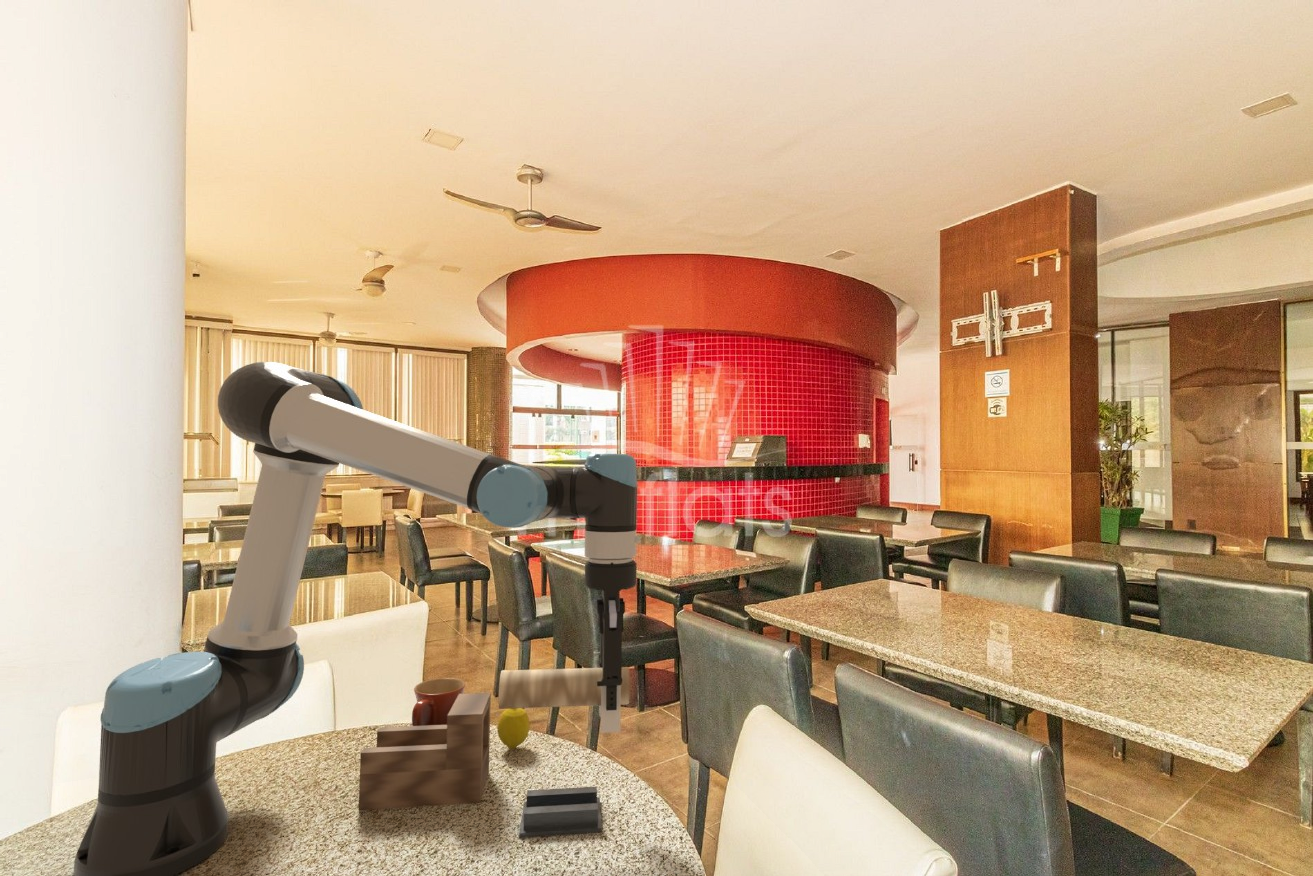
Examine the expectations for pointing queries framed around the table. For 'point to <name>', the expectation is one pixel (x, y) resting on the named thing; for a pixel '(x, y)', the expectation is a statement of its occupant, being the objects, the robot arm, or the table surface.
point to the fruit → (513, 727)
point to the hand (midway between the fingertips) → (609, 723)
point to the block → (430, 760)
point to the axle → (555, 687)
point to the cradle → (561, 812)
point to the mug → (435, 700)
